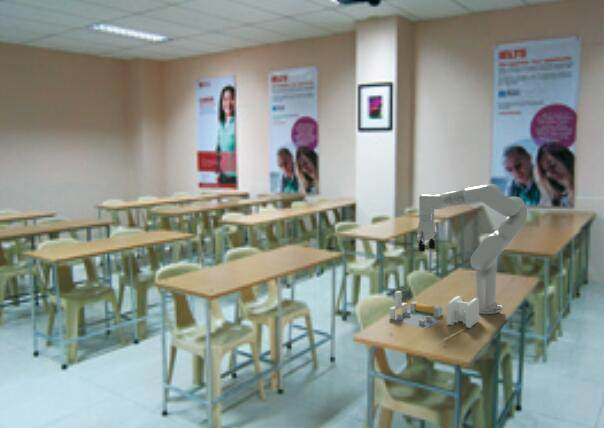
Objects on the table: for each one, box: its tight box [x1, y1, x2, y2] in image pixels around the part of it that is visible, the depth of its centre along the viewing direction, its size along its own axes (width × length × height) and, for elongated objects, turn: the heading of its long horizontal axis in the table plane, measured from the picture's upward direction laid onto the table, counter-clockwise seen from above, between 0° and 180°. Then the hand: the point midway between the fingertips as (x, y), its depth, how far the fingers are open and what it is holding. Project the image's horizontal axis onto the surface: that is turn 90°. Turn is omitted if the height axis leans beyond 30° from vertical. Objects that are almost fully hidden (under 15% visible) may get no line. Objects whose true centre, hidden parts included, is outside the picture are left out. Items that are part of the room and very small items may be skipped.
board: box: [389, 311, 441, 329], centre depth 243 cm, size 20×13×3 cm, turn 45°
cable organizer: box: [445, 295, 480, 329], centre depth 237 cm, size 15×11×12 cm
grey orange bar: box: [409, 300, 443, 318], centre depth 253 cm, size 15×4×4 cm, turn 46°
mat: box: [407, 308, 447, 320], centre depth 255 cm, size 18×12×1 cm, turn 45°
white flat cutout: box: [389, 290, 408, 319], centre depth 249 cm, size 2×12×12 cm, turn 135°
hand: (427, 249), depth 270 cm, fingers open, 9 cm apart
